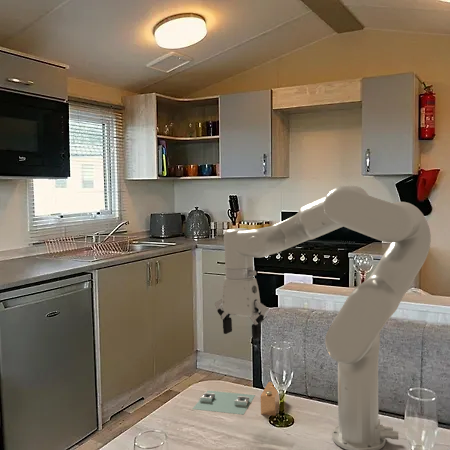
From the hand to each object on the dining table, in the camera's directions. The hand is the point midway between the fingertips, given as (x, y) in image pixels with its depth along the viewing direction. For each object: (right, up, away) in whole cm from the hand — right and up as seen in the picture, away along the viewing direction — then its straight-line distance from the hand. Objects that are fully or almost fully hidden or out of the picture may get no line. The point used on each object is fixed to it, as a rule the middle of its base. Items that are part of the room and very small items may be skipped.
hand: (241, 335), depth 137 cm
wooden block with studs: (+9, -22, +3) cm, 24 cm away
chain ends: (-5, -21, +7) cm, 23 cm away
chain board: (-5, -22, +7) cm, 23 cm away
